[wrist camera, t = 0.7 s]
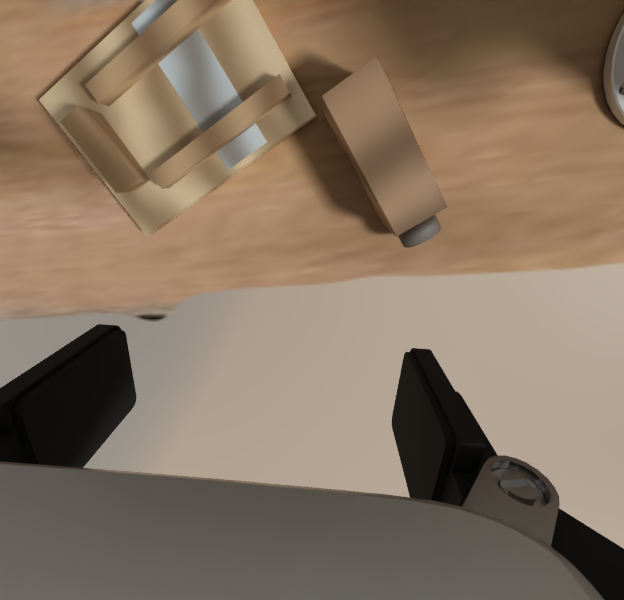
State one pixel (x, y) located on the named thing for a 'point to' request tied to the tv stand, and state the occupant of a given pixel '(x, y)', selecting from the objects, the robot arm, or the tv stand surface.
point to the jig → (178, 103)
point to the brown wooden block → (384, 153)
